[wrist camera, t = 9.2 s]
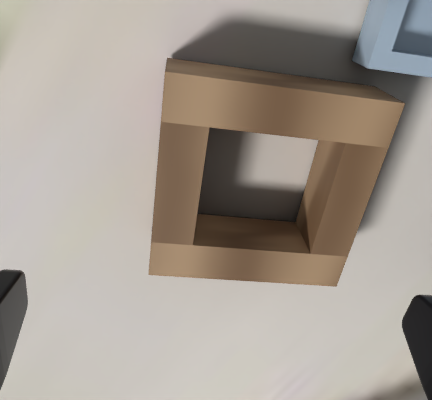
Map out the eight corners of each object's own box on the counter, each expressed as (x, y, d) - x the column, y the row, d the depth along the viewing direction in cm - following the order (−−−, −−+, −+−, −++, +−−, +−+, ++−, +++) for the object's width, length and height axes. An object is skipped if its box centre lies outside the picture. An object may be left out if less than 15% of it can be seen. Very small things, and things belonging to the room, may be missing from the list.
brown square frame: (374, 86, 19) (405, 103, 17) (319, 252, 24) (336, 286, 21) (167, 57, 18) (165, 71, 15) (152, 240, 23) (148, 274, 20)
